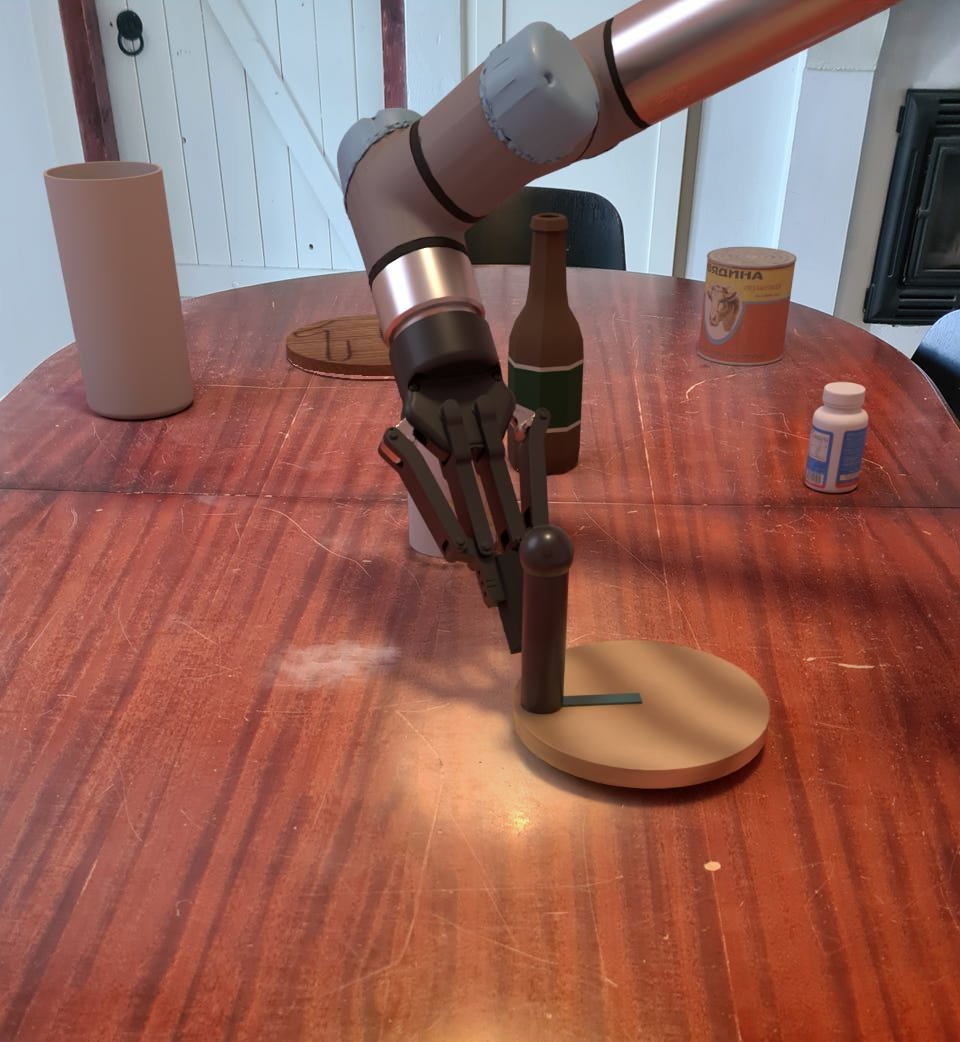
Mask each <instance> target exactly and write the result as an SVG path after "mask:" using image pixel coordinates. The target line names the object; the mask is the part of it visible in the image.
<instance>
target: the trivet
mask: <svg viewBox="0 0 960 1042" xmlns="http://www.w3.org/2000/svg"><path fill="white" fill-rule="evenodd" d="M285 349H286V350H285V351H286V360H287V361H288V362H289V363H290V364H291V365H292V366H293V367H295V368H297V369H299V370H301V371H302V372H305V373H309V374H311V375H316V376H321V377H324V378H331V379H338V380H339V379H340V380H349V381H373V382H374V381H375V382H376V381H396V380H395V379H350V378H340V377H332V376H325V375H320V374H317V373H313V372H309V371H305V370H303V369H307V370H313V371H319V372H325V373H335V374H344V375H362V376H394V373H393V370H392V366H391V363H390V359H389V350H390V349H389V347H388V346H387V345H386V344H385V340H384V337H383V333H382V330H381V326H380V322H379V319H378V315H377V313H376V314H359V315H350V316H349V315H348V316H340V317H335V318H328V319H324V320H319V321H316V322H313V323H308V324H306V325H304V326H301V327H299V328H297V329H295V330H293V331H292V332H291V333H290V334H289V335H288V336H286V338H285ZM287 357H288V358H289V359H290V360H291V361H292V363H293V364H295V365H298V366H299V367H302V368H303V369H301V368H299V367H297V366H295V365H293V364H292V363H291V362H290V361H289V360H288V359H287Z"/></svg>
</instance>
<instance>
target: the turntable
mask: <svg viewBox="0 0 960 1042" xmlns="http://www.w3.org/2000/svg"><path fill="white" fill-rule="evenodd" d="M574 559H575V546H574V542H573V540H572V537H571V536H570V535H569V533H568V532H567V531H566V530H564V529H563V528H561V526H558V525H555V524H551V523H549V524H543V525H539V526H536V527H534V528H532V529H531V530H529V531H528V532H527V533H526V534H525V536H524V537H523V539H522V541H521V543H520V547H519V560H520V563H521V566H522V568H523V596H522V649H521V655H520V656H521V657H520V659H521V660H520V661H521V662H520V677H519V679H518V681H517V682H516V684H515V687H514V689H513V693H512V724H513V726H514V730H515V732H516V734H517V736H518V737H519V740H520V741H521V742H522V744H523V745H525V747H526V748H527V749H528V750H529V751H530V752H532V753H533V754H534V755H535V756H536V757H538V758H539V759H540V760H541V761H544V762H545V763H546V764H547V765H549V766H552V767H553V768H556V769H558V770H560V771H562V772H565V773H567V774H570V775H572V776H574V777H577V778H579V779H584V780H587V781H591V782H593V783H599V784H604V785H608V786H615V787H623V788H632V789H644V790H645V789H646V790H647V789H672V788H674V789H675V788H682V787H688V786H694V785H700V784H703V783H707V782H711V781H714V780H717V779H720V778H723V777H726V776H728V775H730V774H732V773H734V772H736V771H738V770H740V769H741V768H743V767H744V766H747V764H748V763H750V762H751V761H752V760H754V758H755V757H756V756H757V755H758V754H759V753H760V751H761V750H762V748H763V747H764V745H765V742H766V740H767V738H768V731H769V725H770V718H771V706H770V705H771V704H770V701H769V698H768V696H767V694H766V692H765V691H764V689H763V687H762V686H761V685H760V684H759V683H758V681H756V680H755V678H754V677H752V676H751V675H750V674H749V673H747V671H745V670H743V669H742V668H740V667H739V666H737V665H735V664H734V663H732V662H730V661H728V660H726V659H724V658H722V657H719V656H717V655H715V654H712V653H709V652H706V651H703V650H700V649H697V648H694V647H689V646H685V645H682V644H677V643H669V642H663V641H656V640H643V639H642V640H641V639H622V640H621V639H617V640H616V639H615V640H603V641H595V642H589V643H584V644H579V645H575V646H572V647H568V648H567V629H568V628H567V627H568V626H567V625H568V605H569V580H570V569H571V567H572V565H573V563H574Z"/></svg>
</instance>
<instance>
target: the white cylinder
mask: <svg viewBox="0 0 960 1042" xmlns="http://www.w3.org/2000/svg"><path fill="white" fill-rule="evenodd" d="M416 441H417V440H416ZM417 448H418V450H419V451H420V452H421V454H422V455H423V457H424V459H425V461H426V463H427V464H428V466H429V468H430V470H431V472H432V474H433V475H434V477H435V479H436V481H437V483H438V485H439V486H440V488H441V490H442V492H443V494H444V496H445V497H446V499H447V501H448V503H449V505H450V507H451V509H452V510H453V512H454V514H455V516H456V518H457V515H456V512H455V508H454V505H453V501H452V498H451V494H450V490H449V487H448V483H447V481H446V480H445V479H444V478H443V475H442V471H441V468H440V464H439V461H438V458H436V457H435V456H434V455H433V454H432V453H431V452H430V451H428V450H427V449H426V448H425V447H424V446H423V445H422V444H421V443H419V442H418V441H417ZM471 462H472V467H473V470H474V474H475V477H476V481H477V484H478V488H479V491H480V495H481V498H482V502H483V506H484V509H485V513H486V516H487V520H488V523H489V527H490V530H491V534H492V537H493V541H494V544H495V545H496V543H497V534H496V530H495V527H494V523H493V520H492V516H491V513H490V509H489V506H488V503H487V499H486V496H485V492H484V489H483V485H482V482H481V478H480V476H479V475H477V473H476V471H475V468H474V464H473V461H471ZM406 490H407V489H406ZM406 494H407V515H408V540H409V545H410V546H411V548H412V549H413V550H414V551H416V552H418V553H420V554H422V555H425V556H429V557H433V558H440V559H441V558H443V559H445V558H444V557H443V555H442V553H441V551H440V549H439V547H438V546H437V544H436V542H435V540H434V538H433V536H432V535H431V533H430V531H429V529H428V527H427V525H426V524H425V522H424V520H423V518H422V516H421V514H420V513H419V511H418V509H417V507H416V505H415V503H414V502H413V500H412V498H411V496H410V494H409V492H408V490H407V493H406ZM457 520H458V519H457Z"/></svg>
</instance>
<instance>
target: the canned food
mask: <svg viewBox="0 0 960 1042" xmlns="http://www.w3.org/2000/svg"><path fill="white" fill-rule="evenodd" d="M706 259H707V260H706V270H705V281H704V290H703V300H702V310H701V322H700V331H699V339H698V348H697V354H698V356H699V357H701V358H703V359H704V360H707V361H710V362H711V363H717V364H722V365H728V366H741V367H753V366H755V367H756V366H764V365H770V364H773V363H776V362H778V361H780V360H782V359H783V357H784V347H785V339H786V332H787V325H788V318H789V311H790V303H791V296H792V289H793V281H794V274H795V266H796V262H797V256H796V255H795V254H794V253H792V252H789V251H786V250H784V249H783V250H782V249H778V248H777V249H776V248H772V247H763V246H762V247H761V246H728V247H721V248H716V249H713V250H711V251H709V252H708V253H707V254H706Z"/></svg>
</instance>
